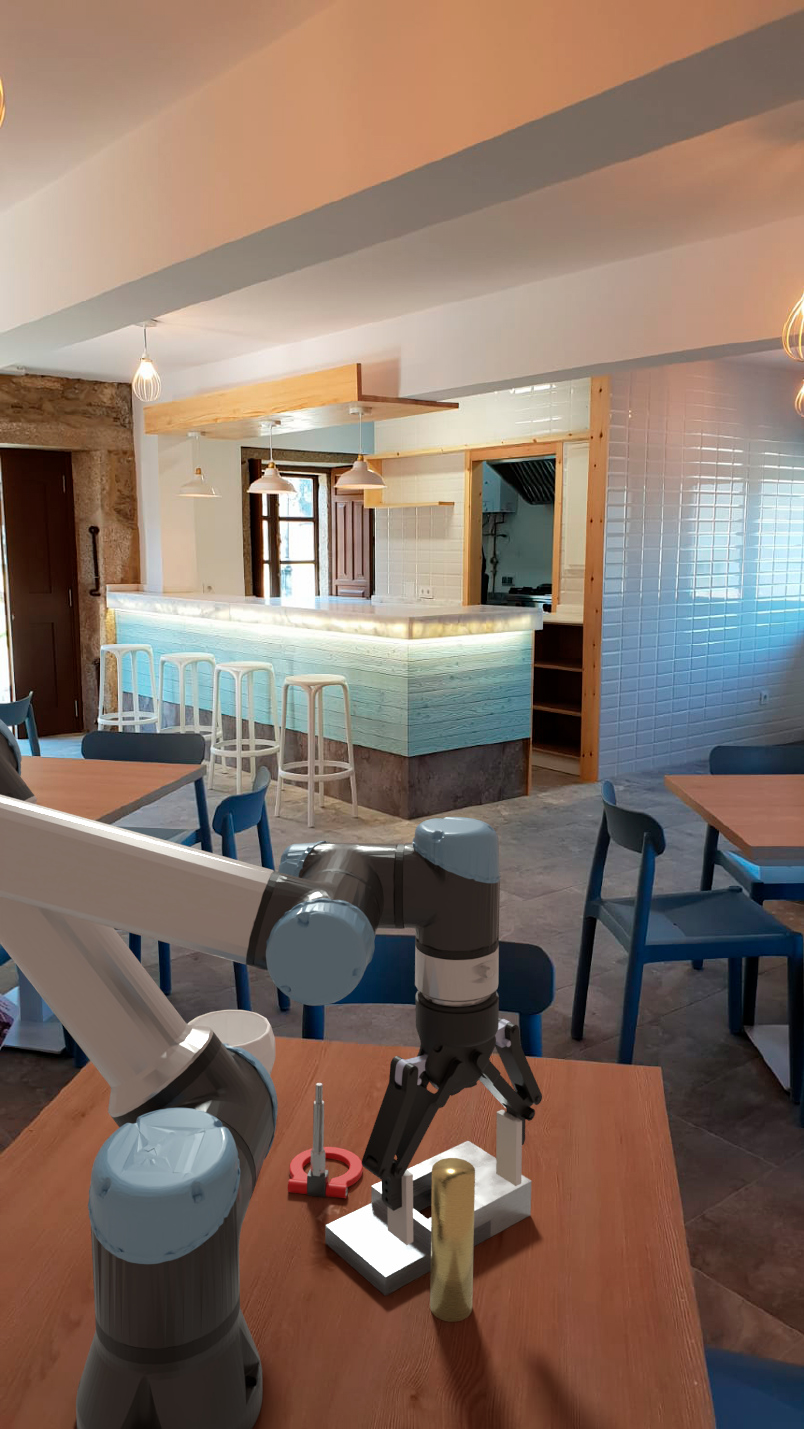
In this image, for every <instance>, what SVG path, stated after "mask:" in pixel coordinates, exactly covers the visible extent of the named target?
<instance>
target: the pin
mask: <svg viewBox="0 0 804 1429" xmlns="http://www.w3.org/2000/svg"><path fill="white" fill-rule="evenodd" d="M474 1200H475V1168H474V1167H473V1165H472V1164H471V1163H469V1162H468V1161H465V1160H463V1159H459V1158H446V1159H442V1160H439V1161H438V1162H436V1163H435V1164H434V1165H433V1167H432V1204H431V1207H430V1208H431V1214H430V1215H431V1217H430V1218H431V1271H430V1281H429V1282H430V1283H429V1284H430V1288H429V1289H430V1290H429V1291H430V1292H429V1296H430V1297H429V1308H430V1311H431V1313H432V1314H433V1315H434V1316H435V1317H436V1318H437V1319H438V1320H441V1321H444V1322H450V1323H454V1322H459V1321H464V1320H465V1319H467V1318H468V1317H469V1316H470V1315H472V1311H473V1297H474V1296H473V1295H474V1294H473V1290H474V1288H473V1287H474V1248H475V1246H474Z"/></svg>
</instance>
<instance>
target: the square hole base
mask: <svg viewBox="0 0 804 1429" xmlns="http://www.w3.org/2000/svg"><path fill="white" fill-rule="evenodd" d="M446 1158H459V1159H463V1160H465V1161H468V1162H469V1163H471V1164H472V1165H473V1167H474V1168H475V1200H474V1247H476V1246H477V1245H480V1244H482V1243H483V1242H484V1241H487V1240H488V1239H490V1238H492V1237H494V1236H495V1235H497V1234H500V1233H501V1232H502V1231H503V1232H504V1231H505V1230H506V1229H508V1228H510V1227H512V1226H513V1225H515V1224H517V1223H519V1222H521V1221H522V1220H524V1219H526V1218H528V1217H530V1216H531V1215H532V1214H531V1211H532V1210H531V1209H532V1208H531V1207H532V1204H531V1203H532V1180H531V1179H530V1178H528V1177H527V1176H525V1175H523V1174H522V1175H521V1184H519V1185H517V1186H515V1185H513V1184H512V1183H510V1182H508V1181H507V1180H505V1179H504V1178H502V1177H501V1176H499V1175H497V1174H496V1156H494V1155H491V1154H490V1153H488V1152H487V1151H485V1150H484V1149H482V1148H481V1147H479V1146H478V1145H476V1144H475V1143H473V1142H471V1141H469V1140H466V1141H464V1142H462V1143H460V1144H458V1145H456V1146H453V1147H451V1148H450V1149H449V1148H448V1149H447V1150H445V1151H443V1152H441V1153H438V1154H436V1155H435V1156H432V1157H431V1158H427V1159H426V1160H423V1161H421V1162H420V1163H417V1164H415V1165H413V1166H411V1167H408V1168H407V1170H408V1171H409V1172H411V1173H412V1174H413V1242H412V1243H410V1244H408V1245H406V1244H404V1243H403V1242H402V1241H401V1240H399V1239H398V1238H397V1237H396V1236H394V1235H393V1234H392V1233H390V1232H389V1231H388V1212H387V1206H386V1205H385V1204H384V1203H383V1201H382V1180H381V1181H379V1182H377V1183H374V1184H373V1185H371V1195H370V1196H371V1200H370V1201H371V1203H368V1204H367V1205H364V1206H362V1207H361V1208H359V1209H357V1210H355V1211H352V1212H350V1213H348V1214H346V1215H344V1216H341V1217H339V1218H338V1219H336V1220H333V1221H331V1222H329V1223H327V1224H325V1227H324V1228H325V1229H324V1230H325V1231H324V1232H325V1238H324V1239H325V1245H327V1246H328V1247H329V1248H331V1250H332V1251H334V1252H335V1253H336V1254H337V1255H338V1256H339V1257H340V1258H342V1259H343V1260H344V1262H346V1263H347V1264H348V1265H350V1266H351V1267H352V1269H354V1270H355V1271H357V1272H358V1274H360V1275H361V1276H362V1277H363V1278H364V1279H365V1280H367V1281H368V1282H369V1283H370V1284H371V1285H372V1286H373V1287H374V1288H376V1289H377V1291H379V1292H380V1293H381V1294H383V1295H384V1296H385V1297H386V1296H388V1295H390V1294H392V1293H393V1292H395V1291H397V1290H398V1289H401V1288H402V1287H404V1286H406V1285H408V1284H410V1283H411V1282H413V1281H415V1280H417V1279H419V1278H420V1277H422V1276H424V1275H425V1274H427V1273H430V1272H431V1217H429V1218H427V1217H425V1215H423V1214H421V1213H420V1212H421V1211H422V1210H424V1209H426V1208H428V1207H430V1206H431V1204H432V1167H433V1165H434V1164H435V1163H436V1162H438V1161H439V1160H442V1159H446Z"/></svg>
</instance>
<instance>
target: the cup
mask: <svg viewBox="0 0 804 1429" xmlns="http://www.w3.org/2000/svg"><path fill="white" fill-rule="evenodd" d="M187 1024H188V1025H195V1026H205V1027H209V1028H210V1029H211V1030H213V1032H214V1033H215V1034H216V1036H217V1037H218V1038H219V1040H220V1041H221V1042H222V1043H227V1044H228V1045H229V1046H231V1047H235V1048H236V1047H240V1048H242V1049H244V1050H246V1051H248V1052H249V1053H251V1054H252V1055H253V1056H254V1057H256V1058H257V1059H258V1060H259V1061H260V1062H261V1063H262V1065H263V1066H264V1067H265V1068H266V1070H267V1071H268V1073H269V1075H270V1076H271V1074H272V1071H273V1067H274V1064H275V1061H276V1037H275V1035H274V1031H273V1028H272V1025H271V1024H270V1022H269V1020H268V1018H267V1017H265V1016H263V1015H261V1014H259V1013H258V1012H253V1011H249V1010H244V1009H223V1010H217V1011H210V1012H207V1013H205V1014H202V1015H199V1016H198V1015H197V1016H196V1017H195V1018H194V1019H192V1020H190V1021H189V1022H188V1023H187Z"/></svg>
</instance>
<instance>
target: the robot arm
mask: <svg viewBox="0 0 804 1429" xmlns="http://www.w3.org/2000/svg"><path fill="white" fill-rule="evenodd" d="M22 760H23V758H22V751H21V749H20V745H19V744H18V741H17V739H16V737H15V735H14V734H13V732H12V730H11V729H10V728H9V726H8V725H7V724H6V723H5V722H4V721H3V720H2V719H1V718H0V945H1V946H2V948H3V949H4V950H5V952H6V953H7V954H8V956H9V957H10V958H11V959H12V961H13V962H14V963H15V964H16V966H17V967H18V969H20V971H21V972H22V974H23V976H25V978H26V979H27V980H28V982H29V983H30V984H31V985H32V986H33V988H34V989H35V990H36V992H37V993H38V994H39V996H40V997H41V998H42V1000H43V1001H44V1002H45V1004H46V1005H47V1006H48V1008H50V1010H51V1012H52V1013H53V1014H54V1015H55V1016H56V1017H57V1019H58V1020H59V1022H60V1023H61V1024H62V1026H64V1028H65V1030H67V1032H68V1033H69V1035H70V1036H71V1037H72V1039H73V1040H74V1041H75V1042H76V1043H77V1046H79V1048H80V1049H81V1050H82V1052H83V1053H84V1054H85V1056H86V1057H87V1058H88V1059H89V1061H90V1062H91V1063H92V1064H93V1066H94V1067H95V1068H96V1069H97V1071H98V1072H99V1073H100V1075H101V1076H102V1078H103V1079H104V1080H105V1081H106V1082H107V1084H108V1086H109V1087H110V1095H109V1101H108V1108H107V1114H109V1116H110V1117H111V1118H112V1119H113V1121H114V1123H115V1124H116V1125H117V1126H118V1128H117V1129H116V1130H114V1132H113V1133H112V1134H111V1135H110V1136H108V1138H106V1140H105V1141H104V1142H103V1144H102V1145H101V1147H100V1148H99V1150H98V1152H97V1153H96V1155H95V1159H94V1161H93V1164H92V1168H91V1173H90V1174H91V1175H90V1185H89V1190H88V1202H87V1203H88V1204H87V1209H88V1218H89V1221H90V1235H91V1237H90V1238H91V1256H92V1260H91V1261H92V1276H93V1278H92V1280H93V1296H94V1297H93V1299H94V1300H93V1301H94V1316H95V1318H94V1320H95V1322H94V1323H95V1332H94V1335H93V1338H92V1341H91V1344H90V1347H89V1351H88V1353H87V1358H86V1360H85V1364H84V1367H83V1371H82V1373H81V1376H80V1379H79V1383H78V1387H77V1392H76V1398H75V1412H76V1429H253V1427H254V1426H255V1424H256V1422H257V1420H258V1418H259V1415H260V1412H261V1408H262V1405H263V1404H262V1403H263V1367H262V1363H261V1358H260V1353H259V1351H258V1349H257V1347H256V1344H255V1341H254V1338H253V1336H252V1334H251V1331H250V1329H249V1326H248V1323H247V1321H246V1319H245V1316H244V1314H243V1311H242V1309H241V1297H240V1296H241V1293H240V1291H241V1290H240V1289H241V1284H240V1281H241V1280H240V1279H241V1278H240V1277H241V1276H240V1274H241V1273H240V1271H241V1270H240V1239H241V1232H242V1227H243V1222H244V1220H245V1217H246V1214H247V1211H248V1207H249V1205H250V1202H251V1200H252V1196H253V1194H254V1191H255V1188H256V1185H257V1182H258V1179H259V1177H260V1174H261V1170H262V1167H263V1164H264V1161H265V1160H266V1158H267V1157H268V1154H269V1152H270V1150H271V1148H272V1146H273V1142H274V1139H275V1133H276V1129H277V1117H278V1108H279V1106H278V1104H279V1101H278V1096H277V1090H276V1087H275V1084H274V1082H273V1079H272V1077H271V1075H269V1073H268V1071H267V1070H266V1068H265V1067H264V1066H263V1065H262V1063H261V1062H260V1061H259V1060H258V1059H257V1058H256V1057H254V1056H253V1055H252V1054H251V1053H249V1052H248V1051H246V1050H244V1049H242V1048H240V1047H236V1048H235V1047H231V1046H229V1045H228V1044H227V1043H222V1042H221V1041H220V1040H219V1038H218V1037H217V1036H216V1034H215V1033H214V1032H213V1030H211V1029H210V1028H209V1027H205V1026H195V1025H188V1023H187V1022H186V1021H185V1020H184V1019H183V1017H182V1016H181V1014H180V1013H179V1012H178V1011H177V1010H176V1008H175V1007H174V1005H173V1004H172V1003H171V1002H170V1000H169V999H168V998H167V996H166V995H165V993H164V992H163V991H162V989H161V988H160V987H159V986H158V984H157V983H156V982H155V980H153V977H152V976H151V975H150V974H149V973H148V971H147V970H146V968H144V966H143V964H142V963H141V962H140V961H139V959H138V958H137V957H136V956H135V954H134V953H133V951H132V950H131V949H130V948H129V946H128V945H127V943H125V941H124V939H123V938H122V937H121V936H120V934H119V933H118V932H117V930H119V931H122V932H126V933H129V934H130V933H131V934H134V935H138V936H141V937H146V938H149V939H152V940H156V941H159V942H163V943H167V944H171V945H173V946H177V947H181V948H184V949H188V950H192V951H196V952H199V953H203V954H207V955H209V956H214V957H217V958H221V959H224V960H227V961H232V962H235V963H238V964H239V963H240V964H243V965H246V966H250V967H254V968H256V969H259V970H262V971H266V972H268V974H269V977H270V979H271V981H272V982H273V984H274V985H275V986H276V987H277V988H278V989H279V990H280V991H281V992H282V993H283V994H284V995H285V996H287V997H288V999H291V1000H292V1001H294V1002H297V1003H299V1004H302V1005H306V1006H313V1007H314V1006H315V1007H316V1006H317V1007H318V1006H327V1005H331V1004H334V1003H336V1002H339V1001H341V1000H342V999H344V998H346V997H348V996H349V995H350V994H351V993H352V992H353V991H354V990H355V988H356V987H357V986H359V985H358V984H360V982H361V980H362V978H363V976H364V973H365V971H366V970H367V967H368V965H369V964H370V963H371V962H372V961H373V960H372V959H373V956H374V952H375V945H376V944H375V938H376V934H377V930H379V929H381V930H382V929H383V930H384V929H387V930H388V929H390V930H392V929H394V930H400V929H401V930H405V929H414V932H415V939H414V940H415V943H414V944H415V945H414V946H415V949H414V950H415V952H414V953H415V954H414V955H415V956H414V957H415V958H414V960H415V961H414V963H415V965H414V972H415V973H414V986H415V987H416V989H417V991H416V993H415V1028H416V1031H417V1035H418V1037H419V1040H420V1045H419V1050H418V1053H417V1056H414V1057H411V1058H407V1059H404V1058H403V1057H400V1056H399V1055H395V1056H394V1057H393V1058H392V1059H391V1061H390V1066H389V1068H390V1069H389V1077H388V1084H387V1087H386V1090H385V1092H384V1093H385V1094H384V1095H383V1098H382V1101H381V1104H380V1107H379V1110H378V1112H377V1116H376V1118H375V1122H374V1124H373V1127H372V1130H371V1133H370V1136H369V1138H368V1142H367V1145H366V1148H365V1149H364V1150H365V1151H364V1153H363V1155H362V1159H361V1161H362V1166H363V1168H364V1169H366V1170H367V1171H369V1172H370V1173H371V1174H373V1175H374V1176H375V1177H376V1178H378V1179H380V1180H381V1181H382V1201H383V1203H384V1204H385V1205H386V1206H387V1212H388V1231H389V1232H390V1233H392V1234H393V1235H394V1236H396V1237H397V1238H398V1239H399V1240H401V1241H402V1242H403V1243H404V1244H406V1245H408V1244H410V1243H412V1242H413V1174H412V1173H411V1172H409V1171H408V1170H407V1169H409V1166H410V1164H411V1162H412V1160H413V1158H414V1156H415V1154H416V1152H417V1150H418V1148H419V1147H420V1145H421V1143H422V1141H423V1139H424V1136H425V1135H426V1133H427V1131H428V1129H429V1127H430V1125H431V1124H432V1122H433V1119H434V1118H435V1116H436V1114H437V1112H438V1110H439V1109H441V1108H443V1107H445V1105H446V1104H447V1102H448V1100H449V1098H450V1097H453V1096H455V1095H457V1094H459V1093H460V1092H461V1091H463V1090H464V1089H468V1088H469V1089H471V1088H472V1087H475V1086H477V1085H478V1081H479V1082H481V1084H482V1085H483V1086H484V1087H485V1088H486V1089H487V1090H488V1091H489V1093H491V1094H492V1095H493V1097H494V1098H495V1099H496V1100H497V1101H498V1102H499V1103H500V1105H502V1107H504V1109H506V1110H504V1109H499V1110H498V1111H496V1134H495V1135H496V1141H495V1143H496V1144H495V1145H496V1147H495V1148H496V1150H495V1152H496V1153H495V1155H496V1156H495V1158H496V1174H497V1175H499V1176H501V1177H502V1178H504V1179H505V1180H507V1181H508V1182H510V1183H512V1184H513V1185H515V1186H517V1185H519V1184H521V1175H523V1173H522V1165H523V1164H522V1162H523V1160H522V1159H523V1158H522V1155H523V1152H522V1151H523V1149H522V1148H523V1146H524V1145H525V1142H526V1121H528V1122H529V1121H532V1120H533V1119H534V1117H535V1116H536V1110H535V1109H534V1108H533V1107H532V1106H533V1105H535V1106H538V1105H539V1104H541V1102H542V1100H543V1094H542V1092H541V1089H540V1088H539V1085H538V1082H537V1081H536V1078H535V1075H534V1074H533V1071H532V1069H531V1066H530V1063H529V1062H528V1059H527V1057H526V1055H525V1053H524V1052H525V1051H524V1050H523V1048H522V1045H521V1036H520V1028H519V1025H518V1024H516V1023H513V1022H512V1021H509V1020H507V1019H505V1018H503V1017H501V1016H499V1013H500V1012H499V1010H500V1009H499V1008H500V1006H499V1005H500V1004H499V1002H500V1000H499V999H500V998H499V997H500V996H499V993H498V991H497V990H498V987H499V969H500V968H499V958H500V957H499V952H500V951H499V950H500V949H499V948H500V945H499V939H500V900H501V899H500V898H501V897H500V896H501V895H500V892H501V890H500V889H501V888H500V887H501V873H500V868H501V867H500V850H499V836H498V834H497V832H496V830H495V829H494V827H493V826H491V825H490V824H489V823H488V822H485V821H483V820H480V819H476V818H471V817H463V816H446V817H441V818H438V817H437V818H430V819H427V820H424V821H422V822H421V823H419V824H417V826H416V828H415V831H414V837H413V838H412V842H405V843H371V842H370V843H369V842H368V843H367V842H366V843H365V842H352V843H351V842H330V841H326V840H318V841H316V842H305V843H304V842H303V843H293V844H290V845H288V846H287V847H286V848H285V849H284V850H283V851H282V854H281V857H280V861H279V863H280V864H279V865H278V870H277V871H276V870H274V869H270V868H267V867H263V866H259V865H255V864H252V863H249V862H245V861H241V860H237V859H233V858H231V857H227V856H223V855H220V854H217V853H213V852H209V851H206V850H201V849H198V848H194V847H192V846H191V847H190V846H189V845H184V844H180V843H177V842H173V841H170V840H165V839H162V838H159V837H154V836H151V835H148V834H144V833H141V832H137V831H134V830H129V829H125V828H122V827H119V826H115V825H112V824H109V823H105V822H101V821H97V820H94V819H90V818H86V817H84V816H79V815H75V814H72V813H68V812H65V811H61V810H57V809H54V808H50V807H46V806H43V805H39V804H37V802H38V801H37V800H38V798H37V797H36V795H35V794H34V793H33V792H32V790H31V789H30V788H29V786H28V785H27V784H26V782H25V781H24V779H23V778H22V765H21V762H23V761H22ZM494 1049H496V1051H497V1053H498V1056H499V1058H500V1060H501V1063H502V1065H503V1067H504V1069H505V1071H506V1074H507V1076H508V1079H509V1080H510V1083H511V1084H512V1086H511V1085H510V1083H508V1081H506V1079H505V1078H504V1077H503V1076H502V1075H501V1072H500V1070H498V1067H496V1065H494V1064H493V1062H492V1061H491V1059H490V1058H491V1056H492V1055H493V1053H494ZM429 1083H430V1084H431V1086H432V1087H433V1088H435V1090H437V1091H436V1092H435V1093H433V1092H432V1091H430V1090H428V1085H429ZM395 1157H396V1159H395Z"/></svg>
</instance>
